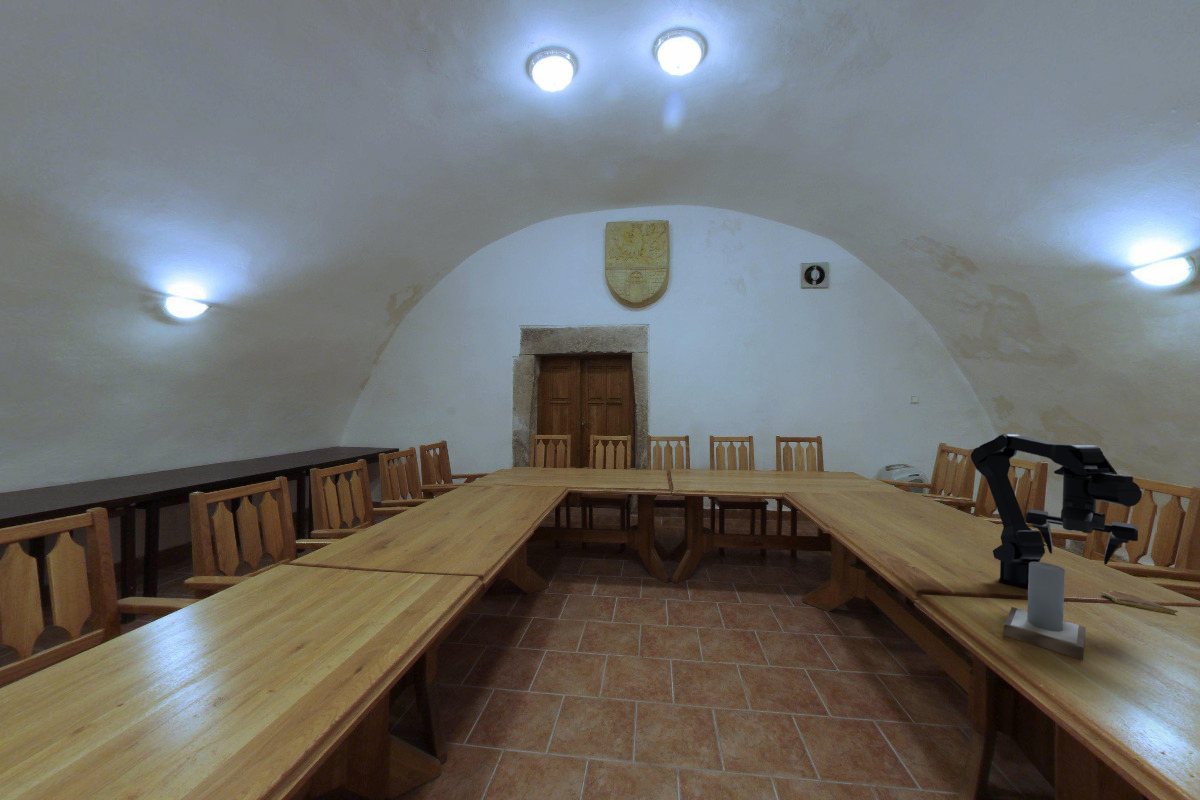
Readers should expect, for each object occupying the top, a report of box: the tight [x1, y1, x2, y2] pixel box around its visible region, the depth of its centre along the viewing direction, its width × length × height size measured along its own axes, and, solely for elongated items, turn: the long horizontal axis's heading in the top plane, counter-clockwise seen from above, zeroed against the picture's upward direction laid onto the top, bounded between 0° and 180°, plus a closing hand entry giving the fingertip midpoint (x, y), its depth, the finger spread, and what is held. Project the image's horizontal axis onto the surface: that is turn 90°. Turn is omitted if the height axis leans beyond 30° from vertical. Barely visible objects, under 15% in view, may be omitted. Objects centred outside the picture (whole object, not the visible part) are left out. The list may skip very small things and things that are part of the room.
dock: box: [1003, 606, 1086, 661], centre depth 99 cm, size 12×12×3 cm
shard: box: [1100, 590, 1179, 615], centre depth 114 cm, size 11×8×2 cm
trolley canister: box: [1027, 561, 1066, 632], centre depth 99 cm, size 6×6×13 cm
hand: (1077, 558), depth 111 cm, fingers open, 9 cm apart
